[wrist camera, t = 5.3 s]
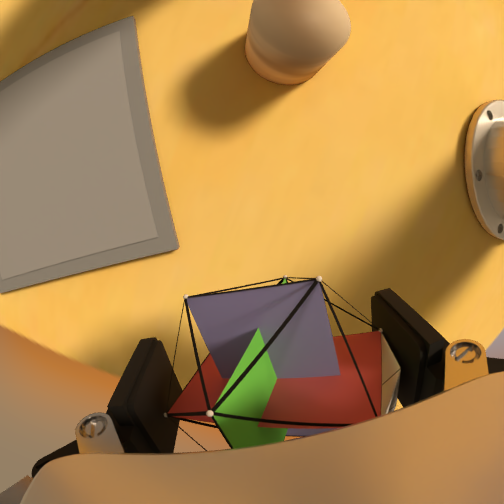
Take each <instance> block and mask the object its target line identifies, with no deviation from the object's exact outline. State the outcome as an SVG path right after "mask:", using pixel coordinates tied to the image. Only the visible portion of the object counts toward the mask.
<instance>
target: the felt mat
mask: <svg viewBox="0 0 504 504" xmlns="http://www.w3.org/2000/svg"><path fill="white" fill-rule="evenodd" d="M179 247H180V246H179V243H178V239H177V235H176V231H175V227H174V223H173V219H172V215H171V211H170V207H169V203H168V199H167V195H166V191H165V186H164V182H163V177H162V173H161V168H160V164H159V159H158V154H157V150H156V145H155V140H154V135H153V130H152V125H151V119H150V114H149V109H148V103H147V97H146V92H145V86H144V79H143V73H142V67H141V60H140V53H139V46H138V38H137V30H136V22H135V18H134V17H133V16H130V17H127V18H125V19H122V20H119V21H116V22H114V23H111V24H108V25H106V26H103V27H101V28H98V29H96V30H94V31H91V32H89V33H87V34H84V35H82V36H80V37H78V38H76V39H73V40H71V41H69V42H67V43H65V44H63V45H61V46H59V47H57V48H55V49H53V50H52V51H50V52H48V53H46V54H44V55H42V56H41V57H39V58H37V59H35V60H34V61H32V62H30V63H29V64H27V65H25V66H24V67H22V68H20V69H19V70H17V71H16V72H14V73H13V74H11V75H10V76H8V77H7V78H5V79H4V80H2V81H1V82H0V293H3V292H7V291H11V290H15V289H18V288H22V287H26V286H30V285H34V284H37V283H41V282H45V281H49V280H53V279H57V278H61V277H65V276H69V275H73V274H77V273H81V272H85V271H89V270H93V269H97V268H101V267H105V266H109V265H113V264H117V263H121V262H125V261H129V260H133V259H138V258H142V257H146V256H150V255H154V254H159V253H163V252H167V251H171V250H176V249H178V248H179Z"/></svg>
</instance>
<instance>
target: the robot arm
mask: <svg viewBox="0 0 504 504" xmlns="http://www.w3.org/2000/svg"><path fill="white" fill-rule="evenodd" d="M465 173H466V182H467V188H468V194H469V197H470V200H471V204H472V207H473V210H474V212H475V214H476V217H477V219H478V220H479V222H480V224H481V225H482V227H483V228H484V229H485V230H486V231H487V232H488V233H489V234H490V235H492V236H494V237H496V238H499V239H502V240H504V100H493V101H489V102H486V103H484V104H483V105H481V106H480V107H479V108H478V109H477V111H476V112H475V113H474V115H473V118H472V120H471V122H470V125H469V129H468V133H467V137H466V145H465ZM371 312H372V323H373V324H374V325H375V326H374V325H373V324H372V326H374V327H376V328H379V329H380V328H381V329H382V330H383V332H382V333H383V335H384V337H385V339H386V341H387V342H388V344H389V346H390V348H391V350H392V352H393V354H394V355H395V357H396V359H397V361H398V363H399V365H400V367H401V373H400V381H399V388H398V396H397V398H398V399H399V401H400V403H401V404H402V406H403V408H401V409H398V410H395V411H392V412H390V413H387V414H384V415H381V416H378V417H375V418H372V419H369V420H365V421H362V422H359V423H356V424H352V425H349V426H345V427H342V428H338V429H334V430H330V431H326V432H322V433H318V434H314V435H310V436H305V437H301V438H296V439H291V440H286V441H280V442H275V443H269V444H263V445H256V446H250V447H242V448H234V449H225V450H215V451H203V452H187V453H173V451H174V446H175V440H176V436H177V431H178V426H179V421H180V420H179V419H175V418H171V417H169V418H171V419H172V420H173V421H174V422H175V423H176V424H177V425H178V426H177V425H176V424H175V423H174V422H173V421H172V420H170V419H169V418H168V417H164V413H166V410H167V412H168V411H169V409H170V408H171V406H172V405H173V404H174V402H175V401H176V399H177V398H178V397H179V395H180V394H181V392H182V389H181V386H180V384H179V382H178V380H177V377H176V375H175V373H174V370H173V372H172V366H171V363H170V361H169V358H168V356H167V354H166V351H165V349H164V346H163V344H162V342H161V341H160V340H158V341H157V339H156V338H155V337H154V338H147V339H141V340H140V342H139V344H138V346H137V348H136V349H135V351H134V353H133V355H132V357H131V359H130V361H129V363H128V365H127V367H126V369H125V371H124V373H123V375H122V377H121V379H120V381H119V383H118V385H117V387H116V389H115V391H114V393H113V395H112V397H111V400H110V402H109V404H108V406H107V407H108V410H107V412H106V413H93V414H90V415H88V416H86V417H85V418H83V419H82V420H81V421H80V422H79V423H78V424H77V427H76V432H75V433H76V439H77V440H75V441H73V442H71V443H69V444H67V445H66V446H64V447H62V448H60V449H58V450H56V451H55V452H53V453H51V454H49V455H47V456H45V457H43V458H42V459H40V460H38V461H37V463H36V464H35V465H34V467H33V469H32V477H31V478H30V477H29V476H28V475H27V476H26V477H24V478H23V479H21V480H20V481H19V482H17V483H15V484H14V485H12V486H11V487H9V488H8V489H6V490H5V491H3V492H2V493H0V504H504V359H497V358H489V357H486V352H485V349H484V347H483V346H482V345H481V344H480V343H478V342H476V341H473V340H469V339H462V340H457V341H454V342H452V343H451V344H450V343H449V342H448V341H447V340H445V338H444V337H443V336H442V335H440V334H439V333H438V332H437V331H436V330H435V329H434V328H433V327H432V326H431V325H430V324H429V323H428V322H427V321H426V320H424V319H423V318H422V317H421V316H420V315H419V314H418V313H417V312H416V311H415V310H414V309H412V308H411V307H410V306H409V305H408V304H407V303H406V302H405V301H404V300H402V299H401V298H400V297H399V296H398V295H397V294H396V293H395V292H393V291H392V290H391V289H390V288H388V289H384V290H380V291H377V292H375V296H372V297H371ZM374 331H378V330H377V329H375V328H373V327H372V332H374ZM171 375H172V379H171ZM170 382H171V386H170ZM169 389H170V393H169ZM168 396H169V400H168ZM167 403H168V407H167Z"/></svg>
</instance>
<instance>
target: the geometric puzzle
mask: <svg viewBox="0 0 504 504" xmlns="http://www.w3.org/2000/svg"><path fill="white" fill-rule="evenodd" d="M288 278H294V277H287V276H286V275H284V276H283V278H279V279H274V280H270V281H265V282H260V283H255V284H250V285H245V286H240V287H235V288H230V289H225V290H220V291H214V292H209V293H204V294H199V295H193V296H188V295H187V294H185V295H184V296H183V298H184V302H185V306H186V311H187V317H188V322H189V327H190V332H191V337H192V342H193V347H194V352H195V357H196V362H197V366H198V370H197V371H196V373H195V374H194V376H193V377H192V378H191V380H190V381H189V383H188V384H187V385H186V387H185V388H184V390H183V391H182V392H181V394H180V395H179V397H178V398H177V399H176V401H175V402H174V404H173V405H172V406H171V408H170V409H169V411H168V412H167V410H166V413H164V417H168V418H169V417H171V418H175V419H179V420H183V421H187V422H191V423H195V424H200V425H204V426H209V427H214V428H218V429H219V430H220V432H221V433H222V435H223V437H224V438H225V440H226V441H227V443H228V444H229V446H230V447H231V449H234V448H242V447H250V446H256V445H263V444H269V443H275V442H280V441H284V439H285V436H299V437H300V436H301V437H305V436H310V435H314V434H318V433H322V432H326V431H330V430H334V429H338V428H342V427H345V426H349V425H352V424H356V423H359V422H362V421H365V420H369V419H372V418H375V417H378V416H381V415H384V414H387V413H390V412H392V411H394V409H395V407H396V402H397V396H398V388H399V381H400V373H401V367H400V365H399V363H398V361H397V359H396V357H395V355H394V354H393V352H392V350H391V348H390V346H389V344H388V342H387V341H386V339H385V337H384V335H383V333H382V332H383V330H382V329H381V328H380V329H379V328H376V327H374V326H375V325H374V324H373V323H372V322H371V323H372V324H373V325H374V326H372V325H370V324H369V323H367V322H365V321H363V320H361V319H360V318H358V317H356V316H354V315H352V314H351V313H349V312H347V311H345V310H343V309H342V308H340V307H338V306H336V305H334V304H333V303H331V302H330V301H329V298H328V296H327V294H326V292H325V290H324V287H323V285H322V283H321V281H322V277H321V276H317V277H316V278H299V279H309V280H303V281H297V282H293V281H291V280H290V279H288ZM280 279H282V280H281V281H280V282H279V283H278V284H277V285H270V286H263V287H256V288H249V289H242V290H235V291H227V290H232V289H237V288H242V287H246V286H251V285H256V284H261V283H266V282H271V281H275V280H280ZM287 280H289V281H291V282H290V283H288V281H287ZM282 282H283V283H282ZM322 282H323V281H322ZM281 283H282V284H281ZM323 283H324V282H323ZM324 284H325V283H324ZM325 285H326V284H325ZM327 286H328V285H327ZM328 287H329V286H328ZM329 288H330V287H329ZM330 289H331V288H330ZM221 291H227V292H221ZM322 291H323V293H324V295H325V298H326V300H325V299H324V297H323V293H322ZM333 291H334V290H333ZM216 292H220V293H216ZM334 292H335V291H334ZM211 293H212V294H211ZM335 293H336V292H335ZM336 294H337V293H336ZM339 296H340V295H339ZM340 297H341V296H340ZM341 298H342V297H341ZM342 299H343V298H342ZM324 300H325V301H327V302H328V304H329V307H330V309H331V311H332V313H333V316H334V318H335V320H336V322H337V325H338V327H339V329H340V332H341V334H342V336H336V337H332V332H331V328H330V323H329V319H328V314H327V310H326V306H325V302H324ZM345 301H346V300H345ZM346 302H347V301H346ZM347 303H348V302H347ZM331 304H332V305H334V306H336V307H337V308H339V309H341V310H343V311H345V312H346V313H348V314H350V315H352V316H354V317H355V318H357V319H359V320H361V321H363V322H364V323H366V324H368V325H370V326H372V327H373V328H375V329H377V330H378V331H374V332H367V333H360V334H352V335H344V332H343V330H342V328H341V325H340V323H339V321H338V319H337V316H336V314H335V312H334V310H333V307H332V305H331ZM348 304H349V303H348ZM349 305H350V304H349ZM188 306H189V308H190V310H191V313H192V315H193V317H194V319H195V322H196V324H197V326H198V328H199V330H200V333H201V335H202V337H203V339H204V341H205V344H206V346H207V348H208V350H209V352H210V353H209V354H208V356H207V357H206V359H205V360H204V361H203V363H202V364H201V366H200V361H199V357H198V352H197V348H196V343H195V338H194V334H193V329H192V324H191V319H190V314H189V309H188ZM351 306H352V305H351ZM183 307H184V304H183ZM352 307H353V306H352ZM353 308H354V307H353ZM354 309H355V308H354ZM355 310H356V309H355ZM358 312H359V311H358ZM182 313H183V309H182ZM359 313H360V312H359ZM360 314H361V313H360ZM361 315H362V314H361ZM364 317H365V316H364ZM181 318H182V315H181ZM365 318H366V317H365ZM366 319H367V318H366ZM367 320H368V319H367ZM368 321H369V320H368ZM180 324H181V320H180ZM179 330H180V326H179ZM178 335H179V332H178ZM177 341H178V338H177ZM176 347H177V344H176ZM175 353H176V350H175ZM174 360H175V356H174ZM173 366H174V362H173ZM172 372H173V368H172ZM171 379H172V375H171ZM170 386H171V382H170ZM169 393H170V389H169ZM168 400H169V396H168ZM167 407H168V403H167ZM171 418H169V419H170V420H172V419H171ZM189 419H191V420H189ZM193 420H197V421H204V422H212V423H215V424H216V426H215V425H210V424H206V423H201V422H197V421H193ZM172 421H173V420H172ZM173 422H174V421H173ZM174 423H175V422H174ZM175 424H176V423H175ZM176 425H177V424H176ZM177 426H178V425H177ZM178 427H179V426H178ZM179 428H180V427H179ZM180 429H181V428H180ZM182 431H184V430H182ZM185 433H186V432H185ZM186 434H187V433H186ZM187 435H188V434H187ZM188 436H189V435H188ZM189 437H190V436H189ZM191 438H192V437H191ZM192 439H193V438H192ZM193 440H194V439H193ZM194 441H195V440H194ZM196 443H197V442H196ZM197 444H198V443H197ZM199 445H200V444H199ZM201 447H202V446H201ZM202 448H203V447H202ZM203 449H204V450H205V448H203ZM206 451H207V450H206Z"/></svg>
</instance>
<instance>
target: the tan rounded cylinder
mask: <svg viewBox="0 0 504 504" xmlns="http://www.w3.org/2000/svg"><path fill="white" fill-rule="evenodd" d="M350 31H351V23H350V18H349V15H348V13H347V11H346V9H345V7H344V6H343V5H342V3H341V2H340V1H339V0H254V1H253V4H252V8H251V14H250V20H249V26H248V32H247V38H246V44H245V54H246V58H247V60H248V62H249V64H250V66H251V67H252V68H253V69H254V71H255V72H256V73H258V74H259V75H260V76H262V77H263V78H265V79H267V80H269V81H271V82H274V83H277V84H283V85H294V84H299V83H303V82H305V81H307V80H309V79H310V78H312V77H313V76H314V75H315V74H316V73H317V72H318V71H319V70H320V69H321V68H322V67H323V66H324V65H325V64H326V63H327V62H328V61H329V60H330V59H331V58H332V57H333V56H334V55H335V54H336V53H337V52H338V51H339V50H340V49H341V48H342V47H343V46H344V45H345V43H346V42H347V40H348V38H349V36H350Z"/></svg>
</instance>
